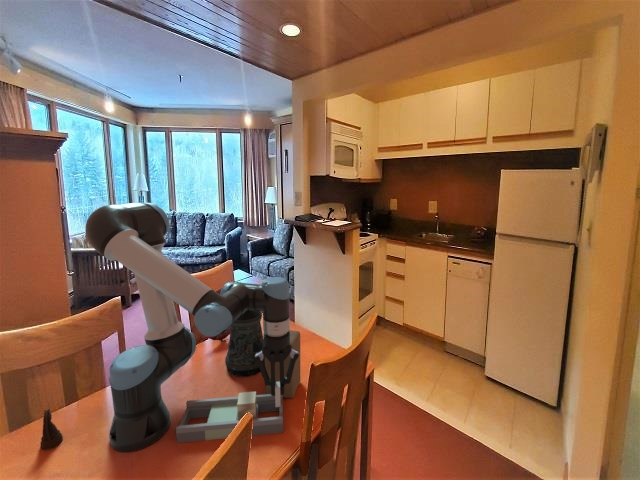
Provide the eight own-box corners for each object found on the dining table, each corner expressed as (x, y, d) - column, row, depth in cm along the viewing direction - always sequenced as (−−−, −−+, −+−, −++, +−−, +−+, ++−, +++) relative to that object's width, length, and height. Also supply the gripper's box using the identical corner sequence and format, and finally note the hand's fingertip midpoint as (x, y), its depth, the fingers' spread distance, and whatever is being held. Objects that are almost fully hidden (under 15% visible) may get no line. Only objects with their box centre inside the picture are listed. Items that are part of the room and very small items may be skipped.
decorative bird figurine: (238, 337, 142) (237, 317, 140) (202, 353, 129) (200, 330, 127) (234, 335, 144) (233, 315, 142) (198, 350, 130) (197, 328, 129)
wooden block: (293, 400, 102) (292, 344, 98) (264, 395, 103) (263, 341, 100) (301, 381, 111) (301, 330, 107) (274, 377, 113) (273, 327, 109)
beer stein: (253, 382, 110) (251, 317, 106) (210, 369, 117) (206, 308, 113) (276, 358, 125) (275, 300, 121) (236, 348, 133) (234, 293, 128)
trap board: (177, 442, 84) (175, 428, 84) (188, 413, 95) (187, 400, 94) (283, 432, 88) (283, 418, 88) (282, 405, 99) (282, 392, 98)
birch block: (237, 419, 89) (237, 404, 88) (239, 407, 94) (239, 392, 93) (255, 418, 90) (254, 402, 89) (256, 405, 95) (256, 391, 94)
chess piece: (64, 433, 87) (58, 402, 85) (61, 446, 83) (55, 414, 81) (42, 440, 85) (36, 408, 83) (38, 454, 80) (32, 421, 78)
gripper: (252, 339, 84) (255, 415, 88) (300, 336, 86) (300, 410, 90) (254, 326, 91) (256, 397, 95) (298, 324, 93) (298, 393, 97)
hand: (277, 403), depth 93 cm, fingers closed
